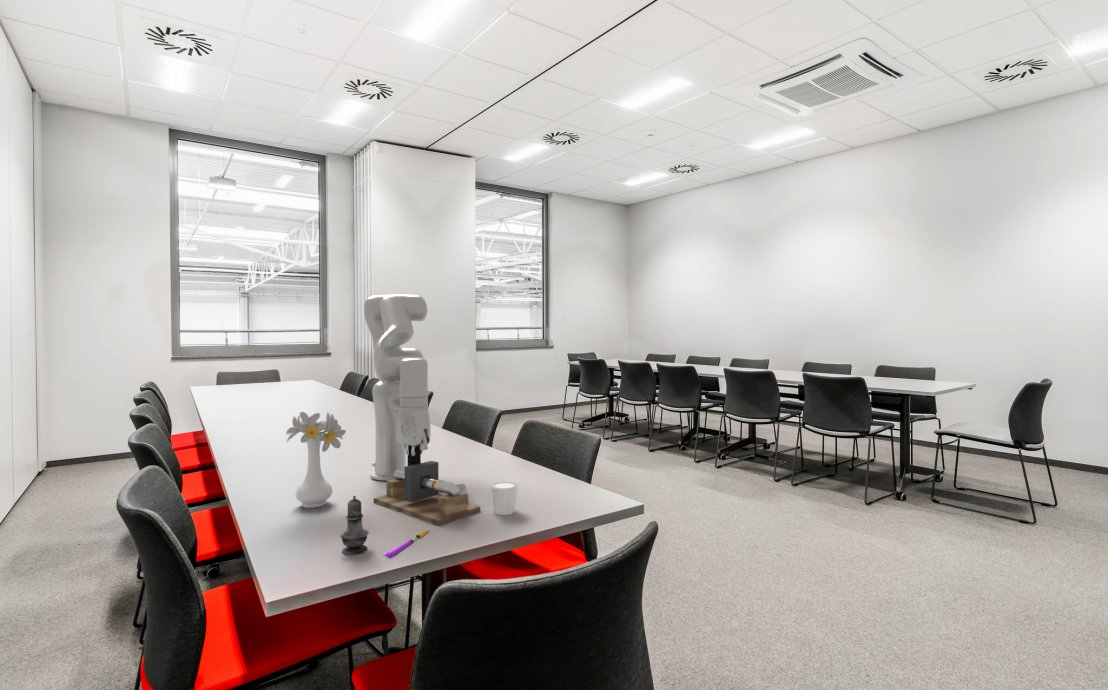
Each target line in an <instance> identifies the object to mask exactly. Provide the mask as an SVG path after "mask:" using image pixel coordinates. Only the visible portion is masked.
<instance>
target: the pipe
mask: <svg viewBox="0 0 1108 690" xmlns="http://www.w3.org/2000/svg"><path fill="white" fill-rule="evenodd" d="M394 477H395V478H397V479H400V480H403V481H405V475H404V471H402V470H396V471H395V472H394ZM439 480H440V479H438V480H434V479H431V478H427V477H424V476H423V477H420V486H423V487H427V488H430V489H433V490H435V491H440V492H444V493H443V494H446V495H447V494H450V495H454V496H458V495H460V493H461V488H460V487H459V486H456V485H452V484H449V483H445V482H442V481H439ZM440 492H439V493H440Z"/></svg>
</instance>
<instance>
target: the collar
mask: <svg viewBox="0 0 1108 690" xmlns="http://www.w3.org/2000/svg"><path fill="white" fill-rule="evenodd" d="M404 475H405V500H406V501H408V502H415V501H418V500H422V499H425V498H429V497H432V496H436V495H439V493H440V492H439V491H435V490H433V489H430V488H427V487H423V486H420V477H423V476H424V477H427V478H431V479H434V480H439V462H438V461H436V460H435V461H433V460H428V461H424V462H421V463H419V464H415V465H410V466H408V465H406V467H404Z"/></svg>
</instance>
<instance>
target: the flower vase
mask: <svg viewBox="0 0 1108 690" xmlns="http://www.w3.org/2000/svg"><path fill="white" fill-rule="evenodd" d="M320 417H321V414H320V413H319V412H315V413H313V414H312V415H310V416H309V415H308V414H307V413H306V412H304V411H300V412H299V415H298V416H297V417H296V416H295V415H294V416H293V417H292V426H291V427H289V428H288V429H287V431H286V432H285V434H286V435H289V436H288V438H287V439H286V443H288V442H289V441H290V440H291V439H292V438H294V437H295V436H297V434H299V433H303V435H302V436H301V438H300V442H301V443H302V444H303V443H304V444H305V443H306V445H307V446H306V447H307V470H306V474H305V476H304V479H303V481H302V482H301V483H300V484H299V486H298V487H296V490H295V499H296V500H297V502H298V501H299V503H301V506H302V508H305V509H314V508H315V507H316V508H319V507H323V506H325V505H327V502H328V501H327V500H328V499H330V498H331V496H332V494H333V487H332V485H331V483H330V482H328V480H326V478H325V477H324V475H323V473H322V472H323V471H322V469H321V453H320V452H321V451H322V452H323V453H325V452H326V451H328V449H329V448H330V445H331V446H332V447H333V448H334V449H335V448H336V449H340V448H341V446H342V444H341V442H340V440H339V439H341V440H343V436H344V435H345V434H346V430H345V429H342V426H341V425H340V424H339V422H338V419H336V418H335V417H334V414H330V413H329V412H327V413H326V416H325V419H324V420H321V421H318V420H319V419H320ZM317 421H318V422H317ZM322 442H323V444H322V448H321V443H322ZM316 508H315V509H316Z"/></svg>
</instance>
